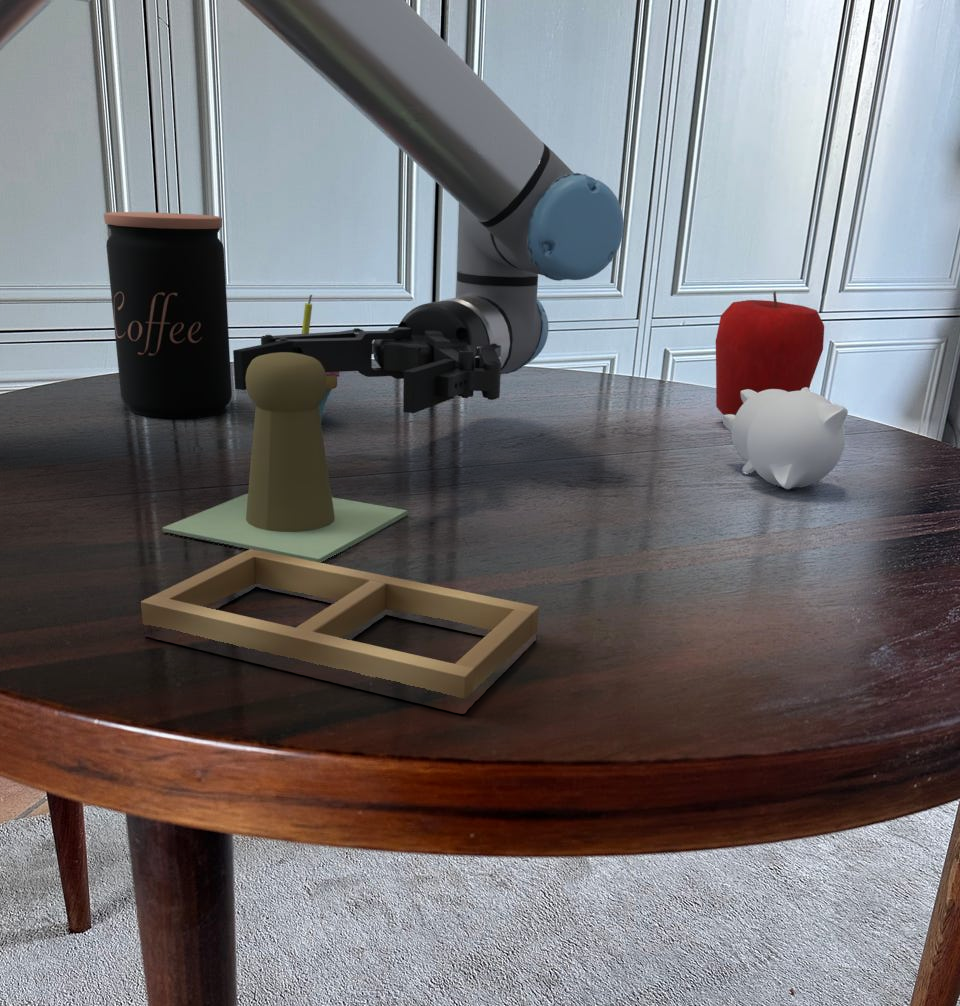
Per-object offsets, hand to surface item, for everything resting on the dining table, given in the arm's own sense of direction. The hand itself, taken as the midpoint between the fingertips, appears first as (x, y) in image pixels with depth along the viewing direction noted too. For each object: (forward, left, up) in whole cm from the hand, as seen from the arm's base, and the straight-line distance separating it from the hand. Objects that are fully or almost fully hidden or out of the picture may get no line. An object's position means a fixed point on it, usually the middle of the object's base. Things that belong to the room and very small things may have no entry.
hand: (320, 381), depth 70 cm
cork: (0, -4, -9) cm, 10 cm away
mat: (0, -4, -9) cm, 10 cm away
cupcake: (-17, +23, -9) cm, 30 cm away
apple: (+23, +49, -9) cm, 55 cm away
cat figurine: (+29, +28, -9) cm, 41 cm away
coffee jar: (-30, +22, -9) cm, 38 cm away
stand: (+13, -19, -9) cm, 25 cm away
